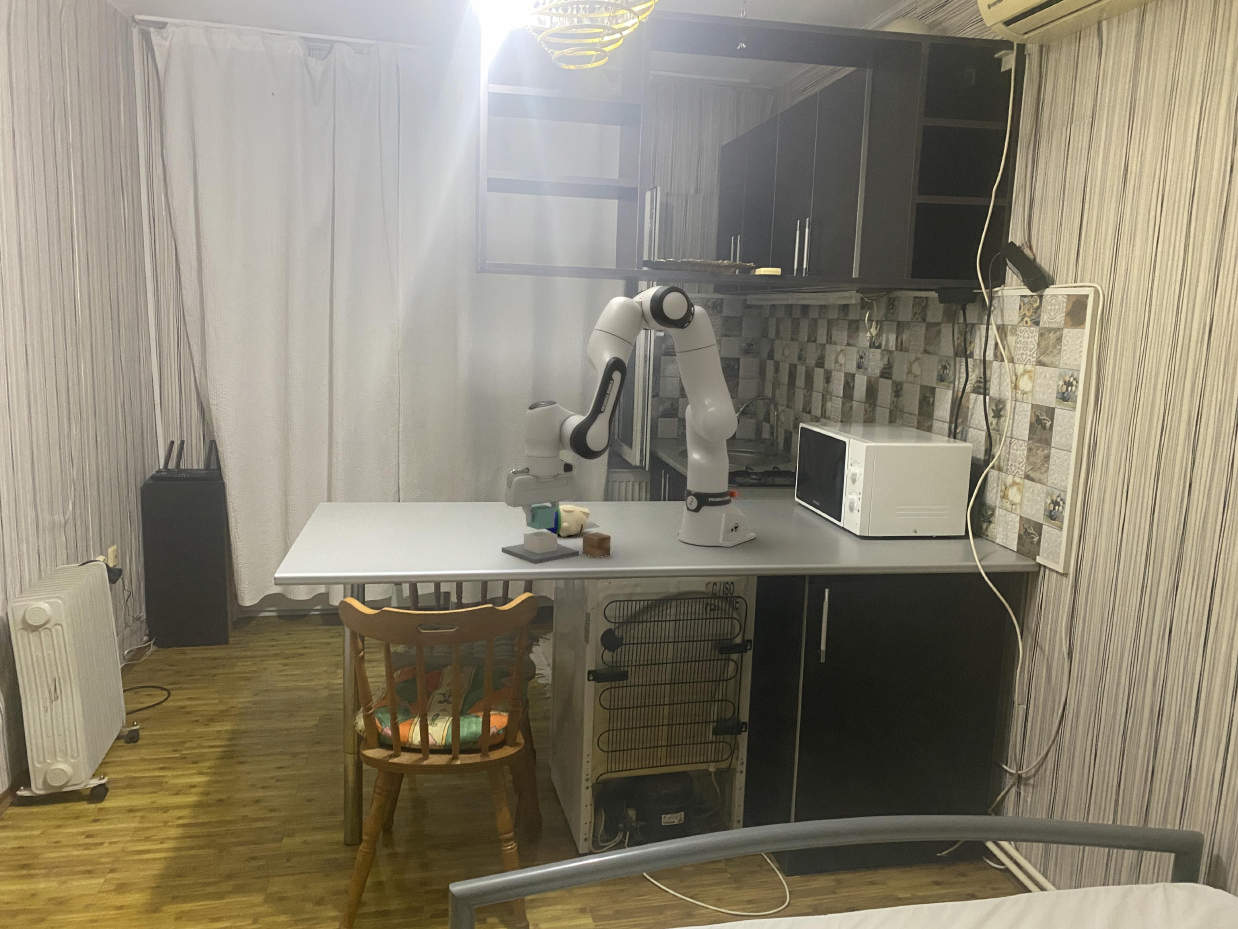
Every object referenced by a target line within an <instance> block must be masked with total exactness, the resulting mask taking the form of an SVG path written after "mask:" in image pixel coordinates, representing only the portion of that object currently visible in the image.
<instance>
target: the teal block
mask: <svg viewBox="0 0 1238 929" xmlns="http://www.w3.org/2000/svg"><path fill="white" fill-rule="evenodd" d="M530 512H531V514H532V515H535V518H534V519H535V521H534V522H530V523H529V522H526V524H525V525H526V527H528V528H531V529H535V530H536V531H540V530H546V528H552V527H554V518H555V508H554V507H551V505H546V504H544V503H543V504H535V505H532V509H530Z"/></svg>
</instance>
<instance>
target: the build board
mask: <svg viewBox="0 0 1238 929" xmlns="http://www.w3.org/2000/svg"><path fill="white" fill-rule="evenodd" d="M501 552H502V553H505V554H508V555H510V556H513V557H516V558H519V559H521V560H525V561H526V560H527V561H526V562H529V561H530V563H532V562H533V563H532V564H540V563H543V561H545V562H550V561H555V560H559V559H560V558H561V559H565V557H566V558H570V557H575V555H576V556H579V555H580V550H578V549H576V548H575V549H574V548H572V547H568V546H566V545H563V544H560V543H558V535H557V534H554V533H552V532H550V531H548V530H545V529H540V530H536V531H535V530H534V531H530V532H523V543H521V544H515V545H514V544H513V545H509V546H503V547H502V546H501ZM549 560H550V561H549ZM539 562H540V563H539Z"/></svg>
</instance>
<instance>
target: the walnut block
mask: <svg viewBox="0 0 1238 929" xmlns="http://www.w3.org/2000/svg"><path fill="white" fill-rule="evenodd" d="M611 537H612V536H611V535H609V534H605V533H602V532H593V533H591V532H590V533H585V534H583V535H582V553H583V554H582V555H585V554H586V555H585V556H588V555H589V556H588V557H592V558H594V557H595V558H594V559H596V557H598V558H601V556H602V557H606V555H607V556H610V555H611V545H612V544H611V542H612V541H611V540H612V538H611Z"/></svg>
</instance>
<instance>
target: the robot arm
mask: <svg viewBox="0 0 1238 929" xmlns="http://www.w3.org/2000/svg"><path fill="white" fill-rule="evenodd" d="M662 330H667V331H668V333H669V334H670V336H671V338H672V340H673V346H674V349H675V355H676V361H677V365H678V370H679V374H680V378H681V379H680V380H681V383H682V385H683V388H684V391H685V394H686V397H687V400H688V405H687V406H686V409H685V415H684V416H685V434H686V436H685V438H686V449H687V475H686V476H687V477H686V478H687V479H686V484H687V485H686V487H685V491H684V501H685V505H684V507H683V513H682V519H681V526H680V529H679V530H678V534H679V535H678V540H679V541H680V542H684V543H687V544H691V545H697V546H708V547H709V546H710V547H713V546H714V547H715V546H716V547H725V548H729V547H730V548H731V547H733V546H737V545H739V544H742V543H745V542H747V541H750V540H753V539H756V533H754V532H753V531H749V530H748V518H747V516H746V515H745V513H743V512H742V511H741V510H740V509H739V508H737V507H736V506H735V505H734V504H733V502H732V498H734V499H736V498H738V496H739V492H738V491H737V490H734V489H730V490H729V489H728V485H729V467H730V460H729V456H728V449H727V447H728V446H727V440H728V439H730V438H731V437H732V436H733V435H734V434H735V433H736V431H737V429H738V425H739V424H738V417H737V416H738V415H737V413H736V411H735V408H734V405H733V401H732V397H731V394H730V391H729V389H728V385H727V383H726V380H725V376H724V373H723V369H722V363H721V358H720V353H719V349H718V344H717V339H716V335H715V331H714V327H713V325H712V322H711V320H710V317H709V315H708V312H707V311H706V309H704V308H703V307H702V306H699V305H694V303H693V302H692V301H691V299H690V297H689V296H688V294H687V292H685V290H683V289H682V288H680V287H679V286H677V285H676V286H675V285H671V284H667V285H656V286H652V287H650V288H648V289H644V290H643V289H642V290H640V291H639V292H637V293H636V294H634V295H633V296H632V297H631V298H630V297H626V296H616V297H613V298H611V299H610V300H609V301H608V303H607V304H606V305H605V307H604V308H603V310H602V312H601V314H600V316H599V317H598V319H597V322H596V323H595V326H594V328H593V330H592V332H591V335H590V337H589V340H588V344H587V349H586V358H587V360H588V362H589V365H591V368H593V369H594V371H595V373H596V376H597V385H596V389H595V392H594V395H593V398H592V402H591V405H590V407H589V409H588V410H589V411H588V412H587V414H586V415H585V416H584V415H582V414H578V413H576V412H572V411H570V410H568V409H566V408H564V407H563V406H562V405H560V404H559V403H558V402H557V401H554V400H546V401H545V400H542V401H537V402H535V403H532V404H531V405H529V407H528V408H527V410H526V413H525V418H524V420H525V421H524V436H523V437H524V442H525V449H524V454H523V468H522V467H521V468H518V469H517V468H514V469H512V470H511V471H510V472H509V473H508V474H507V475H506V485H505V491H504V503H505V504H506V506H508V507H511V508H519V507H521V509H522V511H523V513H524V514H525V521H526V523H527V522H529V523H530V522H534V521H535V519H534V518H535V515H532V514H531V512H530V509H532V506H534V505H541V504H543V505H544V504H547V503H549V505H550V507H554V508H555V512H556V510H557V508H558V506H560V502H563V501H564V502H565V501H569V500H575V497H576V495H577V476H576V474H575V472H576V468H577V467H576V464H575V463H572V462H568V461H567V460H566V461H565V460H563V459H560V456H561V455H560V454H561V452H562V451H563V450H564V451H566V452H570V453H573V454H575V455H576V456H579V457H581V458H583V459H585V460H596V459H599V458H600V457H602V456H603V455H604V454H606V452H607V450H608V449H609V448H610V445H611V442H612V435H613V434H612V432H613V422H614V418H615V415H616V411H617V408H618V405H619V403H620V399H621V396H622V392H623V390H624V386H625V382H626V378H627V372H628V371H627V368H628V363H629V360H630V357H631V354H632V351H633V349H634V346H635V345H636V344H635V343H636V342H637V339H638V336H639V335H640V333H641V332H642V331H662ZM554 519H555V518H554Z"/></svg>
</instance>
